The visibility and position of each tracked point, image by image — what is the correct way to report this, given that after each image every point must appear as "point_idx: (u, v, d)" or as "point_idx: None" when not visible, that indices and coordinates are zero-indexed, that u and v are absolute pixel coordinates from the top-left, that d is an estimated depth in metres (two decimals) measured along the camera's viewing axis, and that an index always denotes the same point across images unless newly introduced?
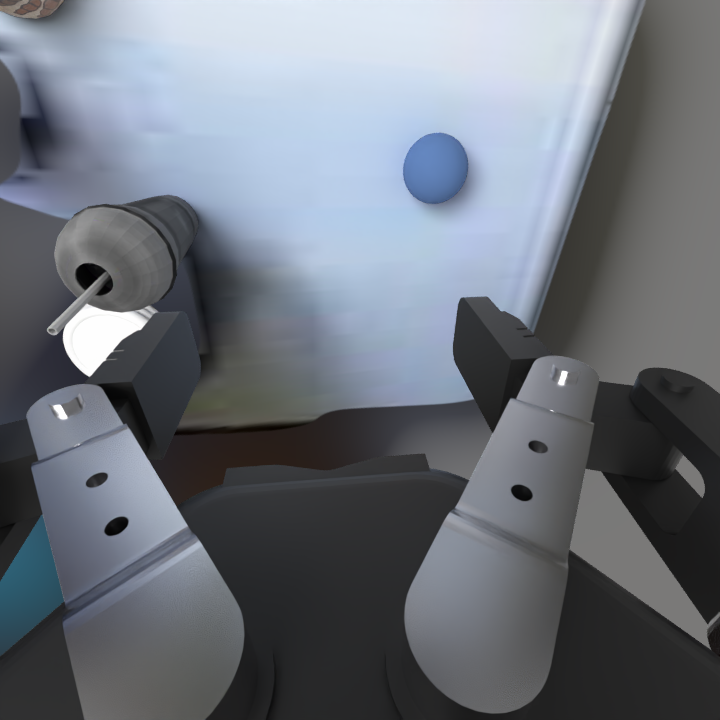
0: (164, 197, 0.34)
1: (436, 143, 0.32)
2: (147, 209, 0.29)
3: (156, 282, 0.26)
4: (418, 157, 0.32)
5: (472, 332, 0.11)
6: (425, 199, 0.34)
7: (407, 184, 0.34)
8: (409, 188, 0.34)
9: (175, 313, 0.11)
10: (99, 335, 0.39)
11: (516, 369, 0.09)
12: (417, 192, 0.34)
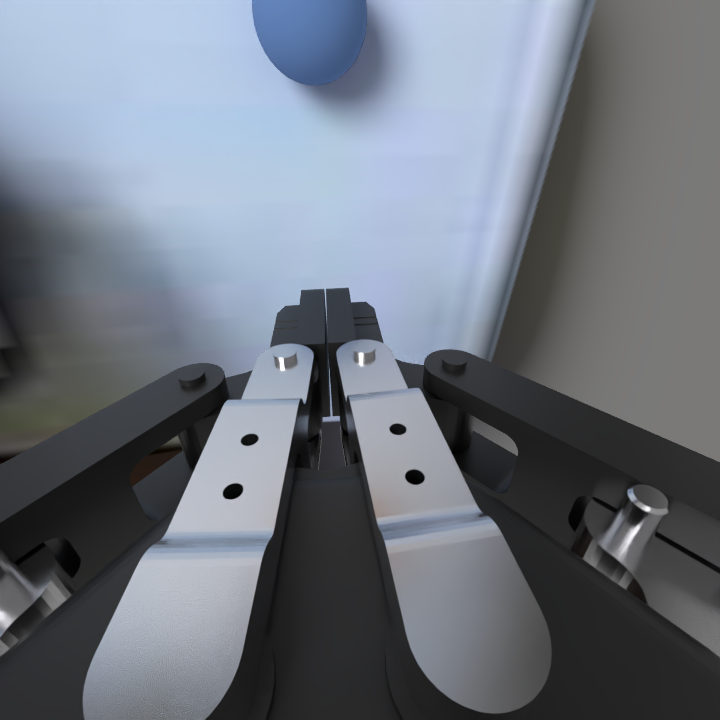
0: None
1: None
2: None
3: None
4: None
5: None
6: (292, 68, 0.19)
7: (261, 42, 0.19)
8: (265, 50, 0.19)
9: (320, 290, 0.12)
10: None
11: (335, 352, 0.09)
12: (276, 54, 0.19)
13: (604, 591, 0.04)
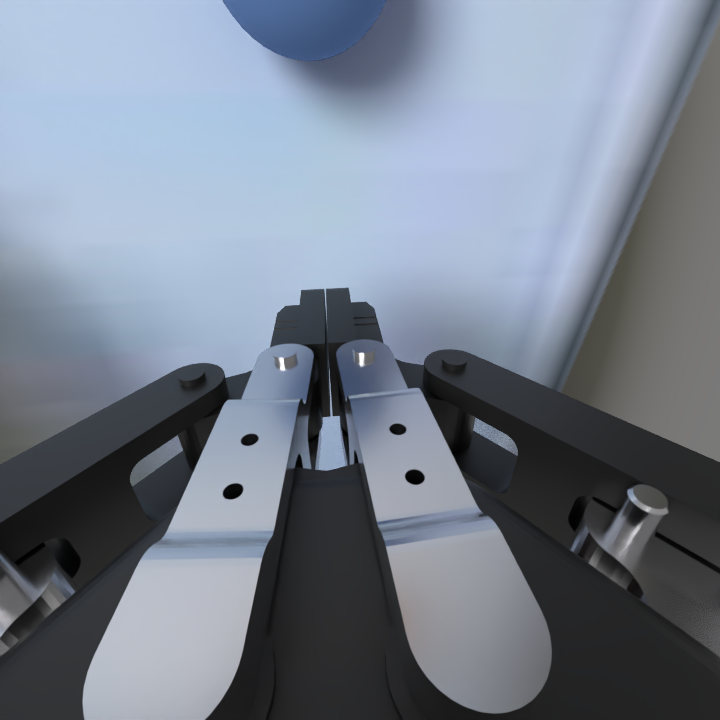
0: None
1: None
2: None
3: None
4: None
5: None
6: (269, 28, 0.11)
7: None
8: None
9: (320, 290, 0.12)
10: None
11: (335, 352, 0.09)
12: (239, 1, 0.10)
13: (604, 591, 0.04)
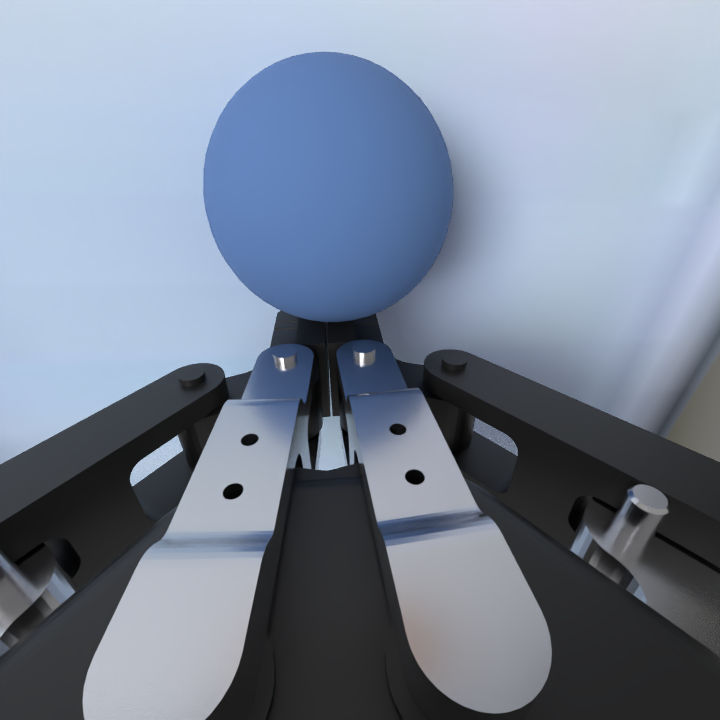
0: None
1: (297, 56, 0.07)
2: None
3: None
4: (225, 110, 0.07)
5: None
6: (284, 285, 0.08)
7: (218, 245, 0.08)
8: (226, 259, 0.08)
9: None
10: None
11: (335, 352, 0.09)
12: (245, 257, 0.08)
13: (604, 591, 0.04)
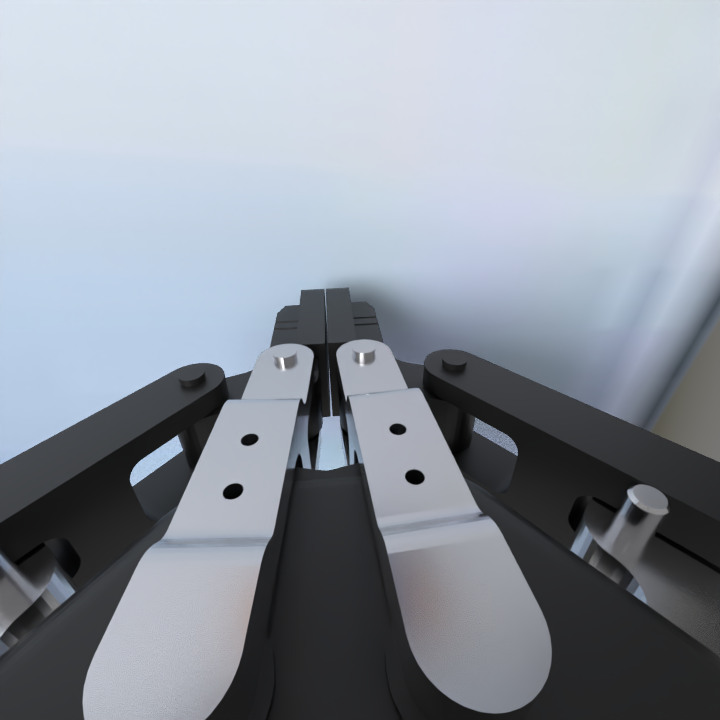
0: None
1: None
2: None
3: None
4: None
5: None
6: None
7: None
8: None
9: (320, 290, 0.12)
10: None
11: (335, 352, 0.09)
12: None
13: (604, 591, 0.04)
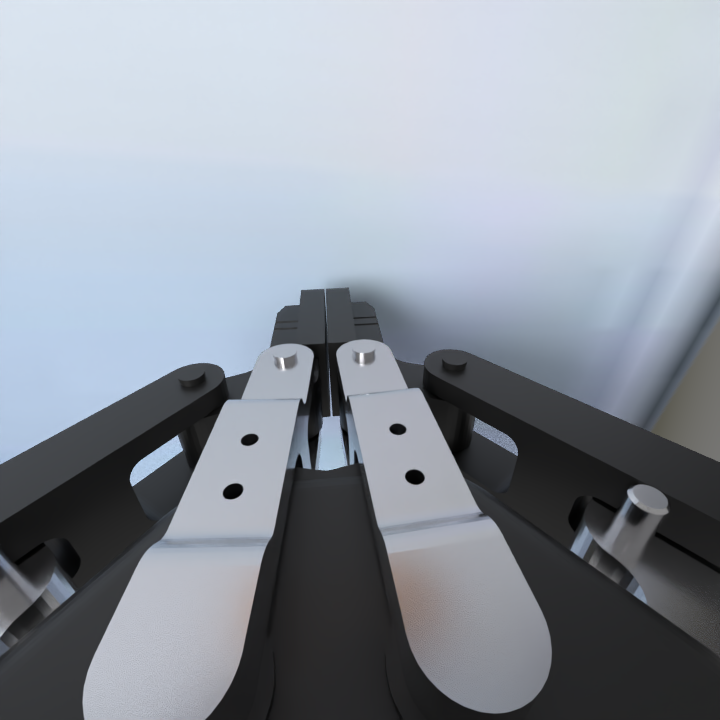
0: None
1: None
2: None
3: None
4: None
5: None
6: None
7: None
8: None
9: (320, 290, 0.12)
10: None
11: (335, 352, 0.09)
12: None
13: (604, 591, 0.04)
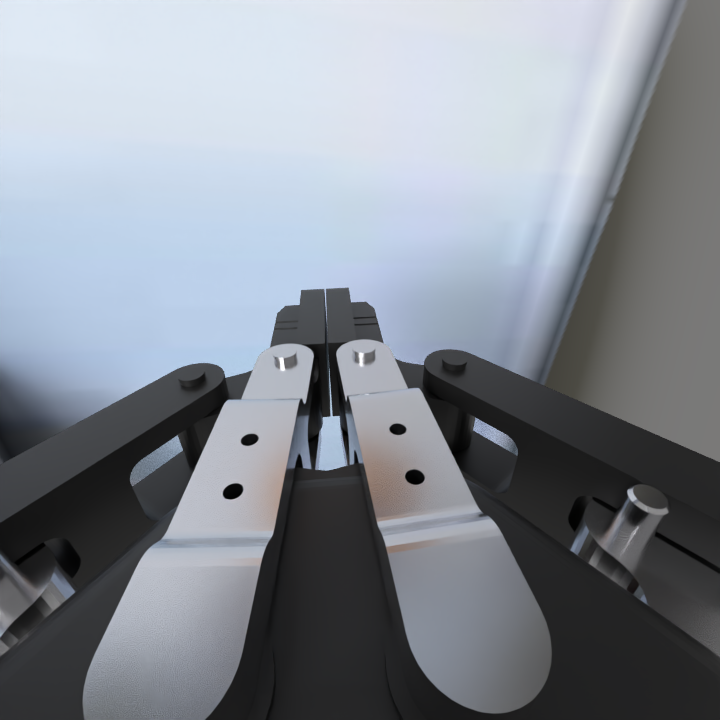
0: None
1: None
2: None
3: None
4: None
5: None
6: None
7: None
8: None
9: (320, 290, 0.12)
10: None
11: (334, 352, 0.09)
12: None
13: (604, 591, 0.04)
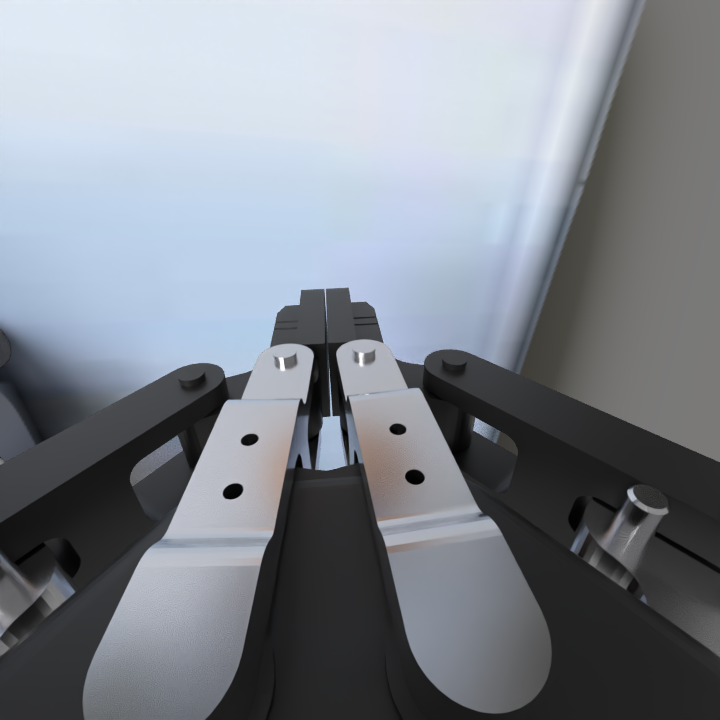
0: None
1: None
2: None
3: None
4: None
5: None
6: None
7: None
8: None
9: (320, 290, 0.12)
10: None
11: (335, 352, 0.09)
12: None
13: (604, 591, 0.04)
